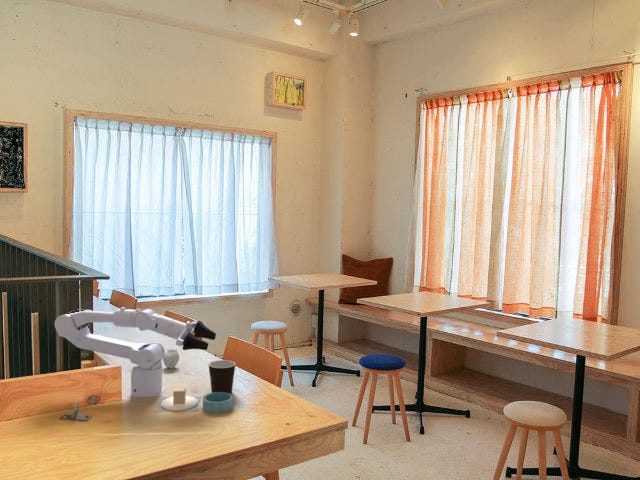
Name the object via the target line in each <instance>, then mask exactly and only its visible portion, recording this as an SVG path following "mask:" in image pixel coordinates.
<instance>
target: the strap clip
mask: <svg viewBox="0 0 640 480" xmlns="http://www.w3.org/2000/svg"><path fill="white" fill-rule="evenodd" d="M79 410H80V405H79V403H77V404H76V403H75V404H74V405H72V409H71V414H63V415H62V416H60V417H59V418H58V419H59V420H60V421H61V420H62V421H63V420H64V421H72V420H74V421H79V422H87V421H89V420H91V419H92V415H91V414H90V415H89V414H79Z"/></svg>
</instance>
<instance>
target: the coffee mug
mask: <svg viewBox="0 0 640 480" xmlns="http://www.w3.org/2000/svg"><path fill="white" fill-rule="evenodd" d="M235 370H236V362H235V361H232V360H228V359H227V360H226V359H219V360H213V361H211V362H209V363H208V371H209V379H210V390H211V393H213V392H226V393H230V394H232V393H233V386H234V380H235V379H234V377H235Z"/></svg>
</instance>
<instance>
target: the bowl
mask: <svg viewBox="0 0 640 480" xmlns="http://www.w3.org/2000/svg"><path fill="white" fill-rule="evenodd" d="M233 409H234V395H233V394H232V393H231V394H230V393H226V392H213V393H212V392H209V393H206V394H205V395H203V397H202V410H203V411H204V412H206V413H209V414H222V413H227V412H229V411H231V410H233Z"/></svg>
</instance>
